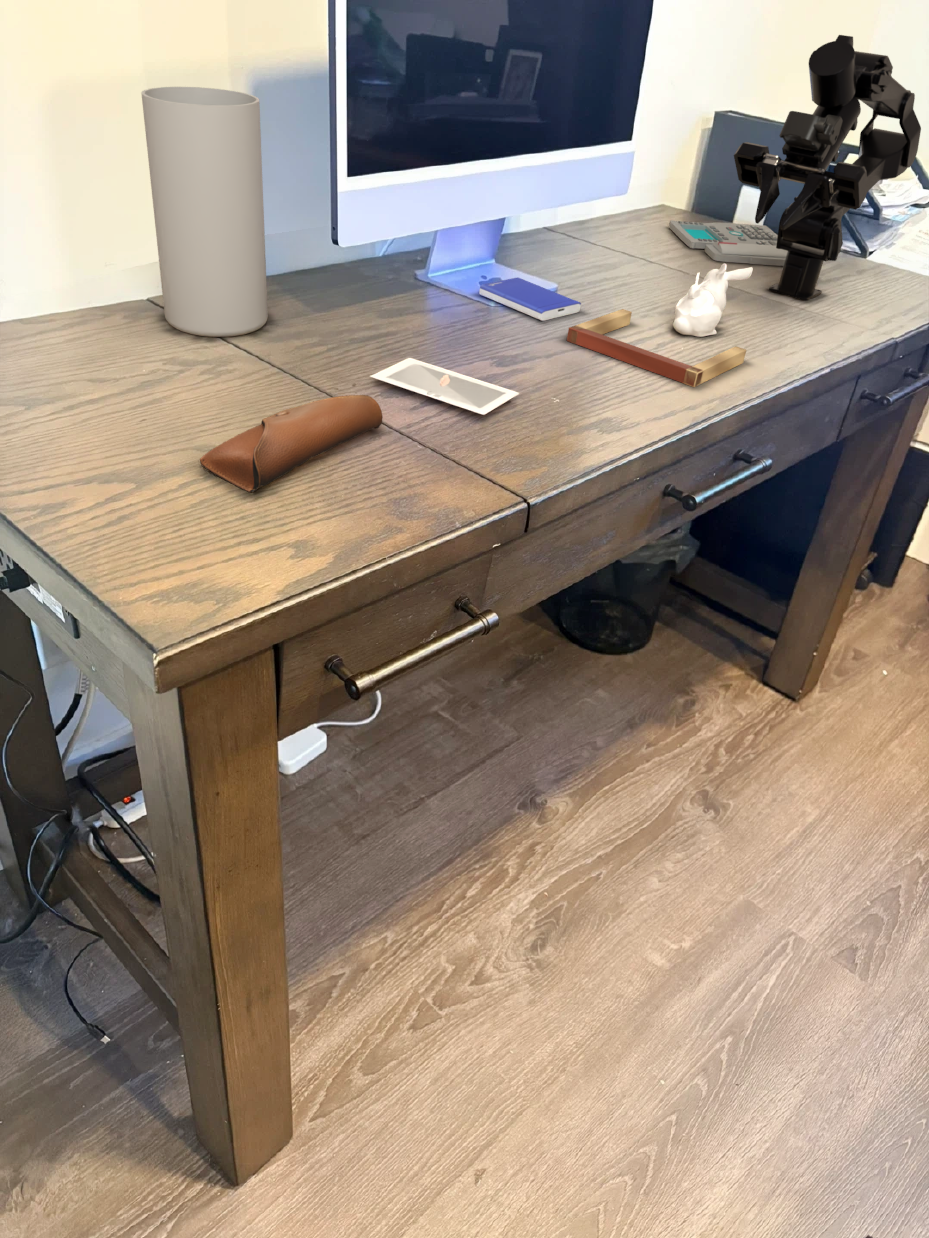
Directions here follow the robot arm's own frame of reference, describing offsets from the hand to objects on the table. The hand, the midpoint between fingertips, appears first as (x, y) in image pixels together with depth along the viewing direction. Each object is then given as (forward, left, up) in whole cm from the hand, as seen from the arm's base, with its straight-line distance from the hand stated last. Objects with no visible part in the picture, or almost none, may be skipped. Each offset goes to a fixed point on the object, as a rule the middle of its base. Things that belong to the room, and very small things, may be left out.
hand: (768, 224), depth 131 cm
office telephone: (-35, -20, -13) cm, 43 cm away
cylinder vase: (+65, -41, -13) cm, 77 cm away
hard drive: (+25, -22, -13) cm, 35 cm away
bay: (+26, 0, -13) cm, 29 cm away
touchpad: (+59, -8, -13) cm, 60 cm away
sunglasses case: (+81, -8, -13) cm, 82 cm away
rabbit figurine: (+13, 0, -13) cm, 18 cm away
